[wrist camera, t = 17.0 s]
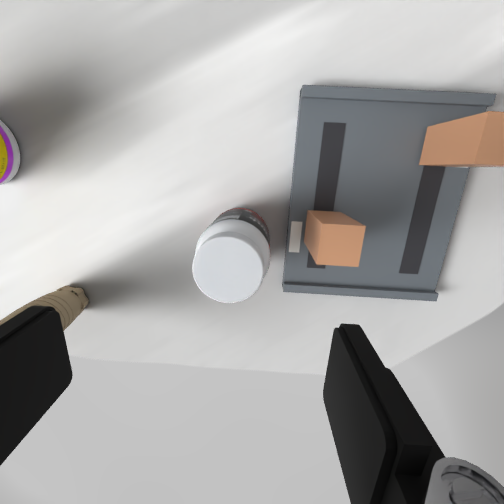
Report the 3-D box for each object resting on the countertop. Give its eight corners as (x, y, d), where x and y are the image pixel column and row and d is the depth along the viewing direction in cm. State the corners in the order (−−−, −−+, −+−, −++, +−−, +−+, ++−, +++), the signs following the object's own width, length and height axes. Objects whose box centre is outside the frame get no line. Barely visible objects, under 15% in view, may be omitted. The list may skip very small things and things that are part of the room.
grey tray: (300, 90, 23) (303, 84, 21) (480, 98, 22) (496, 93, 21) (282, 285, 28) (283, 291, 26) (426, 293, 28) (436, 301, 26)
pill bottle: (277, 250, 27) (285, 294, 17) (226, 270, 28) (208, 323, 18) (255, 197, 25) (250, 214, 16) (202, 220, 26) (167, 249, 17)
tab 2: (427, 126, 22) (488, 111, 16) (464, 128, 22) (539, 113, 16) (418, 165, 23) (473, 164, 17) (454, 166, 23) (521, 166, 17)
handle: (60, 263, 28) (-148, 361, 14) (111, 300, 29) (-33, 426, 15) (39, 294, 29) (-172, 414, 15) (89, 328, 30) (-63, 469, 16)
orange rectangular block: (307, 210, 24) (322, 223, 18) (340, 211, 24) (365, 226, 18) (303, 241, 25) (316, 264, 19) (335, 243, 25) (358, 267, 19)
